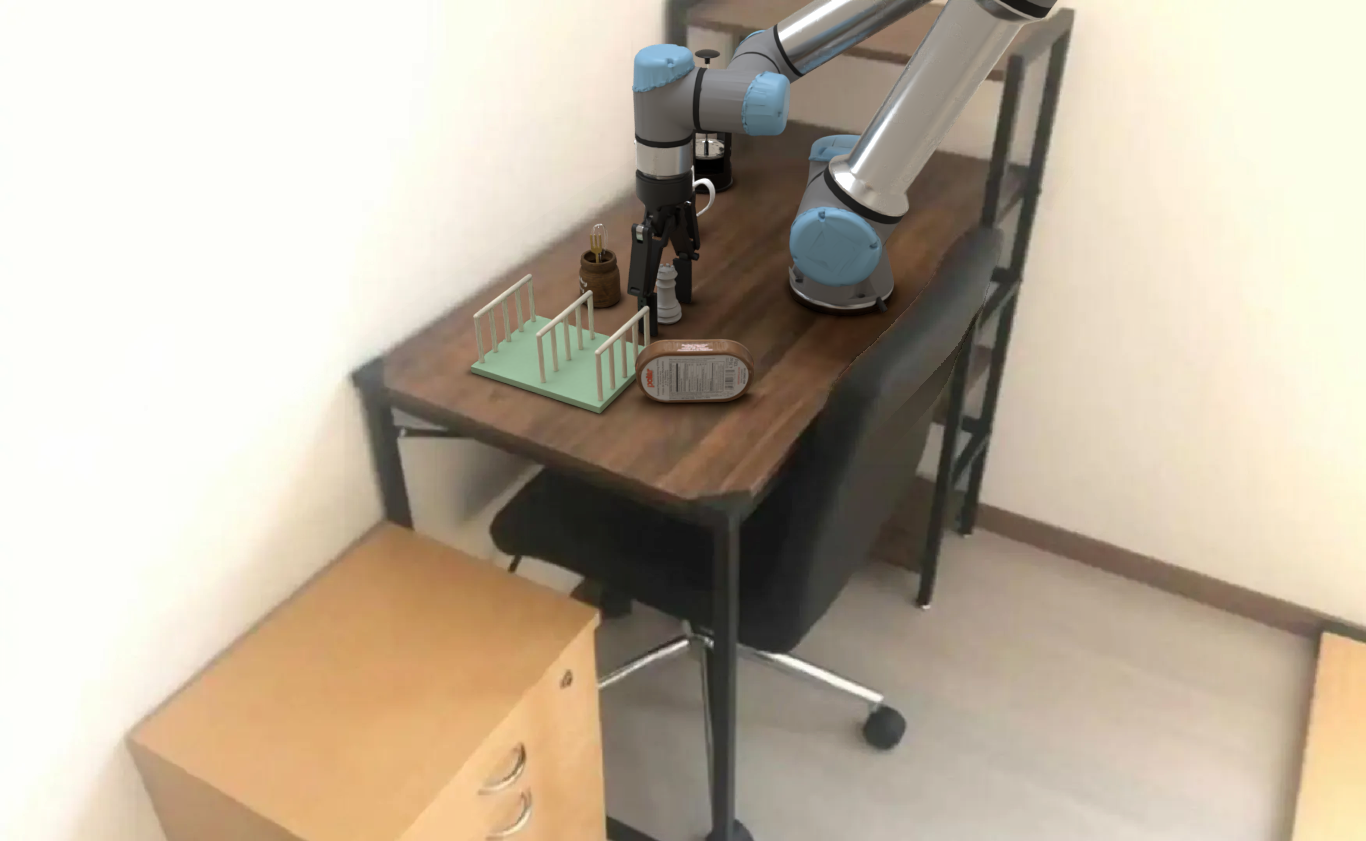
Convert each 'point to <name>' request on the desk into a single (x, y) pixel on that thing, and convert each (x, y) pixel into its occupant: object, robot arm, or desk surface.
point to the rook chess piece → (667, 295)
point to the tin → (694, 370)
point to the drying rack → (560, 353)
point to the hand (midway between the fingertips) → (665, 316)
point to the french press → (712, 150)
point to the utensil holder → (599, 274)
